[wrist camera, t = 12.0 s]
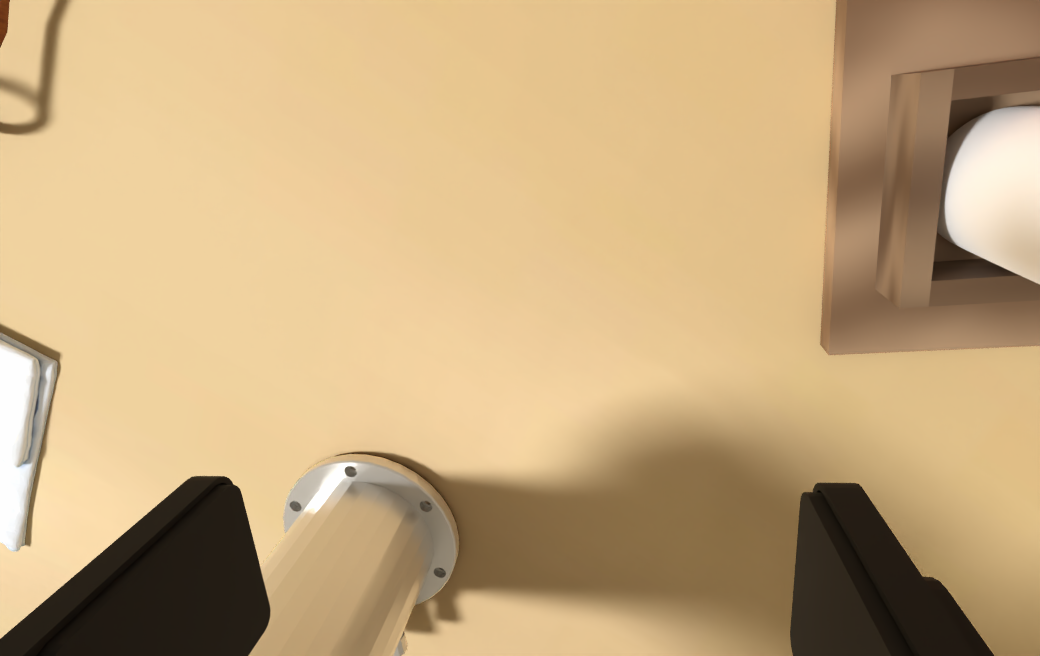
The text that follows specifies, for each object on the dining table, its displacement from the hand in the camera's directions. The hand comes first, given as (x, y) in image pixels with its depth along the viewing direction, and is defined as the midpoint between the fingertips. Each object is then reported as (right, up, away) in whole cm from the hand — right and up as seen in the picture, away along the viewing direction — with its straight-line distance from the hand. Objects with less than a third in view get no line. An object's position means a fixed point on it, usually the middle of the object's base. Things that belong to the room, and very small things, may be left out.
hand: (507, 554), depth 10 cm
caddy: (+23, +11, +19) cm, 32 cm away
